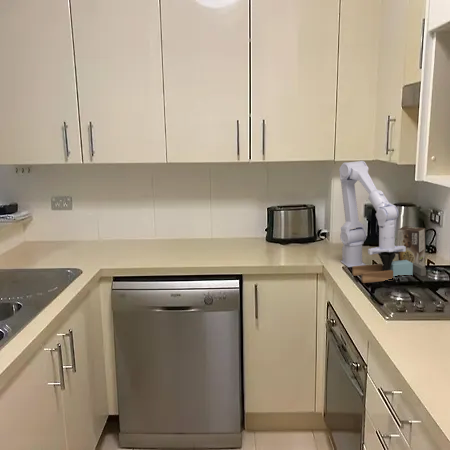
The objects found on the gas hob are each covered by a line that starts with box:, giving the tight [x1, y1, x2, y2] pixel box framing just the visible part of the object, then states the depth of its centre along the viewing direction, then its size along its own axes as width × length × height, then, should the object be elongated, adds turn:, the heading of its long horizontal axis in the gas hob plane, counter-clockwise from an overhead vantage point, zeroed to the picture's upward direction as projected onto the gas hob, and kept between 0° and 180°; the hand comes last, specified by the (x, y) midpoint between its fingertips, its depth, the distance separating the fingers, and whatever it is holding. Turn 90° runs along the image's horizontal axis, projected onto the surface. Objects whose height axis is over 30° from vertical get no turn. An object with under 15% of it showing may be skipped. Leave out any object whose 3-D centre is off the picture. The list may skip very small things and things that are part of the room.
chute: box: [351, 263, 394, 284], centre depth 185 cm, size 11×12×4 cm
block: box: [390, 260, 414, 276], centre depth 187 cm, size 5×8×5 cm, turn 97°
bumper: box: [413, 263, 427, 277], centre depth 188 cm, size 8×2×3 cm, turn 7°
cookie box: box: [397, 225, 426, 267], centre depth 195 cm, size 9×6×16 cm
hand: (386, 270), depth 186 cm, fingers closed
